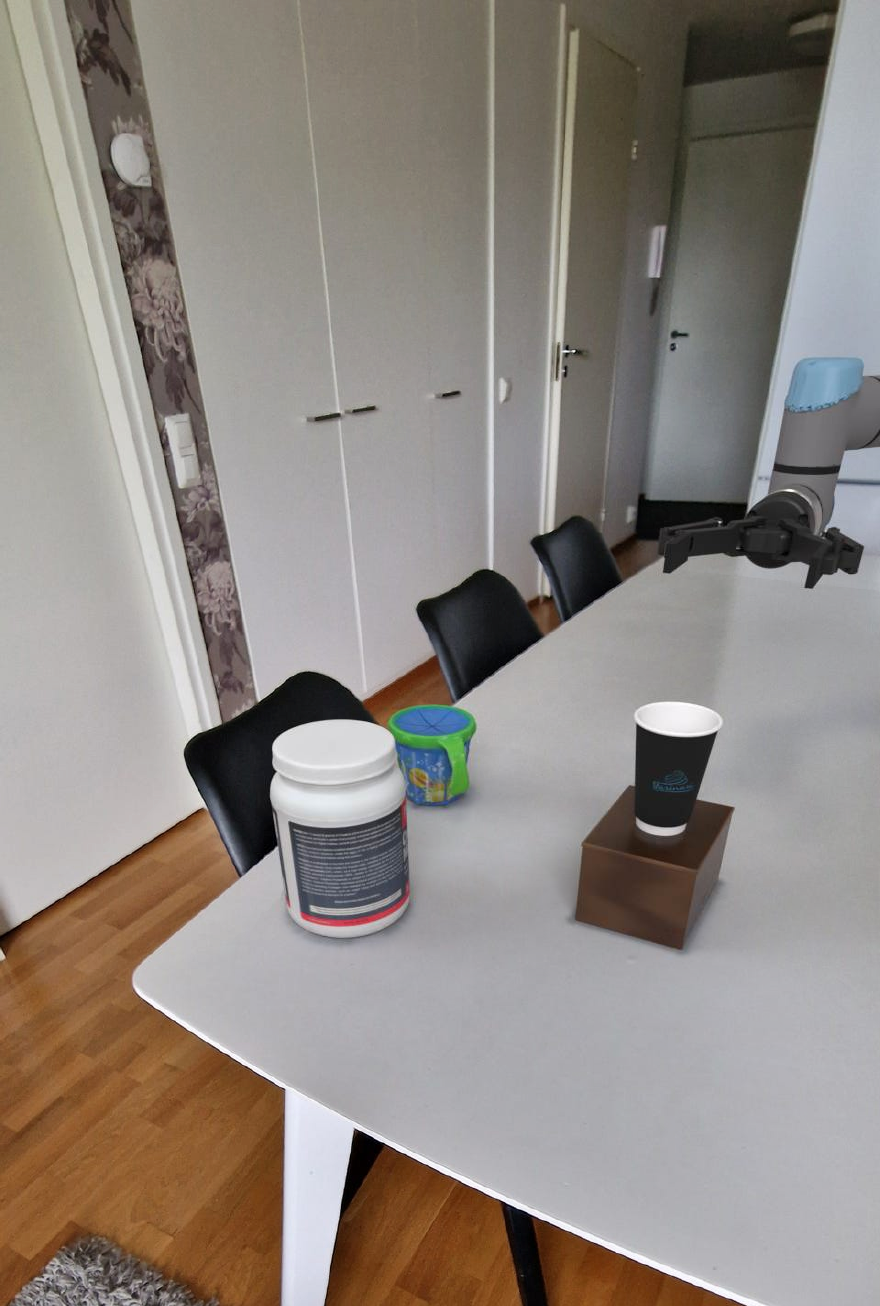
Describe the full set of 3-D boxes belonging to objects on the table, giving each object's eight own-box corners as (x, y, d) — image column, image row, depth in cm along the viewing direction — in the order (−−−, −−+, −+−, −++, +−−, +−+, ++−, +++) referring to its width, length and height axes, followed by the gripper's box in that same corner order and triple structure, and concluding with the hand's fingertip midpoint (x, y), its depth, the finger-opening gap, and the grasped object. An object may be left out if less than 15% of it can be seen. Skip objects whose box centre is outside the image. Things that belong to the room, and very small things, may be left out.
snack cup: (494, 814, 104) (496, 736, 98) (413, 829, 101) (410, 749, 95) (450, 765, 116) (450, 692, 110) (377, 776, 113) (373, 703, 107)
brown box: (718, 881, 91) (735, 807, 86) (682, 951, 81) (698, 871, 76) (619, 857, 96) (629, 784, 90) (573, 920, 86) (581, 842, 80)
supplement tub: (436, 907, 88) (433, 740, 77) (341, 961, 80) (323, 785, 70) (355, 863, 95) (343, 705, 84) (262, 909, 88) (234, 742, 77)
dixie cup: (661, 798, 88) (678, 695, 81) (719, 829, 82) (742, 721, 76) (603, 818, 84) (615, 711, 78) (659, 851, 79) (677, 740, 72)
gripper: (889, 573, 93) (865, 622, 78) (668, 552, 103) (609, 591, 88) (911, 497, 89) (890, 534, 74) (677, 482, 99) (617, 512, 84)
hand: (737, 565), depth 81 cm, fingers open, 13 cm apart
